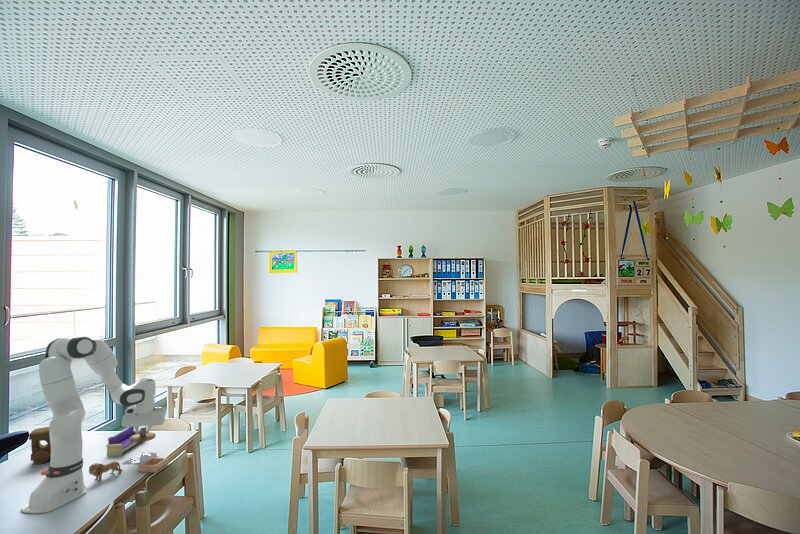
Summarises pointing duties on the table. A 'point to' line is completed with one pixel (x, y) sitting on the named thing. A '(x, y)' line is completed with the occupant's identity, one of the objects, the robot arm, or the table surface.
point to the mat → (141, 459)
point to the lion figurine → (103, 469)
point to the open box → (152, 465)
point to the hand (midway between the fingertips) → (142, 433)
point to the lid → (142, 436)
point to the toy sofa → (120, 442)
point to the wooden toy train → (40, 445)
